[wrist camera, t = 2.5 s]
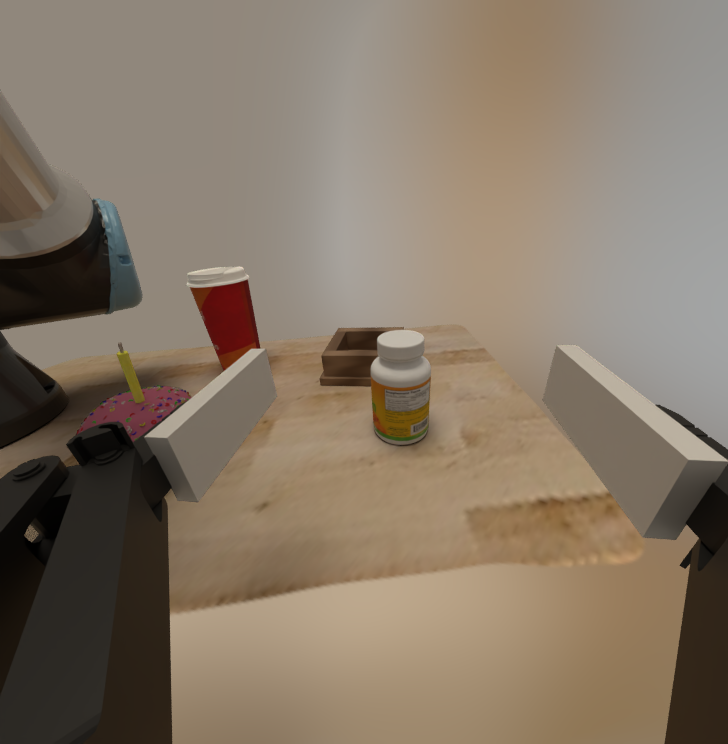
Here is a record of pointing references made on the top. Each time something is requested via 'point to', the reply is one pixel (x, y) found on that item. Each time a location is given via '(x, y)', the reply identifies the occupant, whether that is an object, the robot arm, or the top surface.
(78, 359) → the top surface
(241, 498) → the top surface
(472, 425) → the top surface
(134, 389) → the cupcake
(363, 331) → the socket block
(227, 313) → the paper cup
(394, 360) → the supplement bottle
